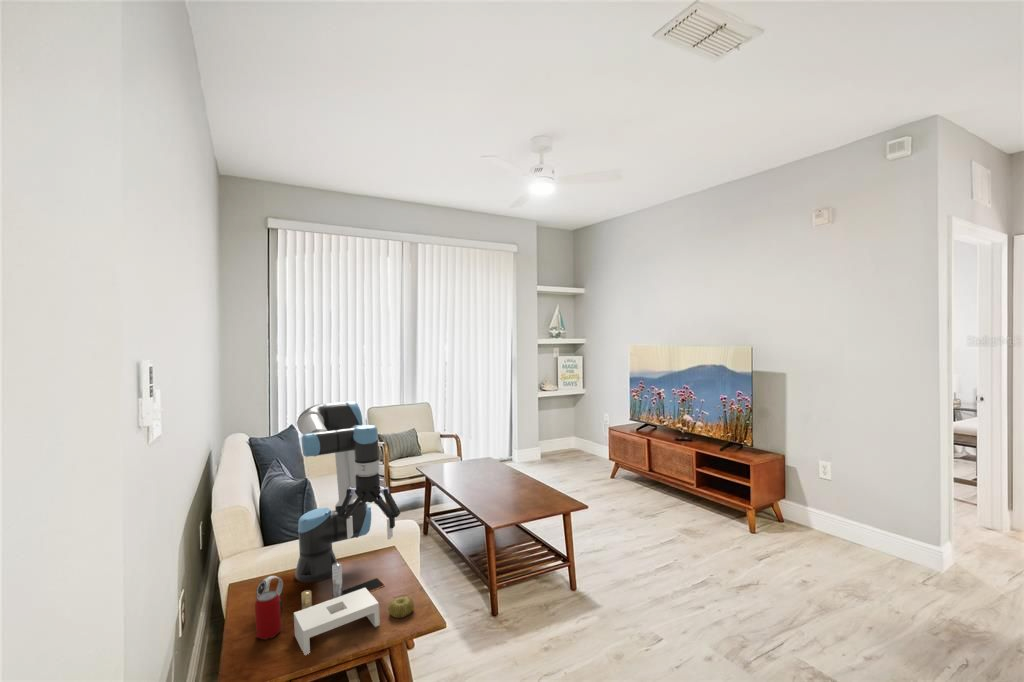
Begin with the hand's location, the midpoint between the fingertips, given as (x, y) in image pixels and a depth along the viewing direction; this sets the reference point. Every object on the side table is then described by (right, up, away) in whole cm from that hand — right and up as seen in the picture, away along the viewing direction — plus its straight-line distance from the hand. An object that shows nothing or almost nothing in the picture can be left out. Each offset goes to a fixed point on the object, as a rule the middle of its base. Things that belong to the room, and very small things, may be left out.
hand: (370, 537), depth 158 cm
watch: (-34, -25, +2) cm, 42 cm away
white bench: (-7, -24, -11) cm, 27 cm away
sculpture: (+11, -24, -2) cm, 26 cm away
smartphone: (-8, -25, +12) cm, 29 cm away
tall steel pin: (-12, -24, +5) cm, 28 cm away
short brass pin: (-20, -25, -1) cm, 32 cm away
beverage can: (-28, -25, -11) cm, 39 cm away
